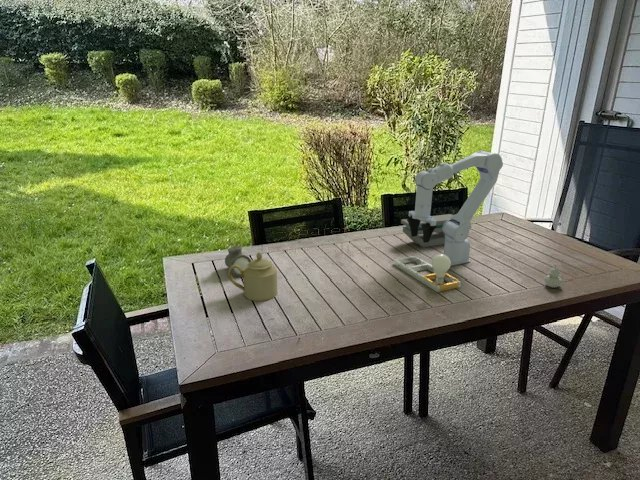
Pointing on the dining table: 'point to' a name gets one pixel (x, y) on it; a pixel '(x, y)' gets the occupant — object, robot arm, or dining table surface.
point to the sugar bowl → (257, 279)
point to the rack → (426, 278)
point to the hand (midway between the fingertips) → (420, 239)
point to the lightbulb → (440, 267)
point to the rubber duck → (553, 278)
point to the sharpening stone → (436, 236)
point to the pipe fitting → (236, 260)
